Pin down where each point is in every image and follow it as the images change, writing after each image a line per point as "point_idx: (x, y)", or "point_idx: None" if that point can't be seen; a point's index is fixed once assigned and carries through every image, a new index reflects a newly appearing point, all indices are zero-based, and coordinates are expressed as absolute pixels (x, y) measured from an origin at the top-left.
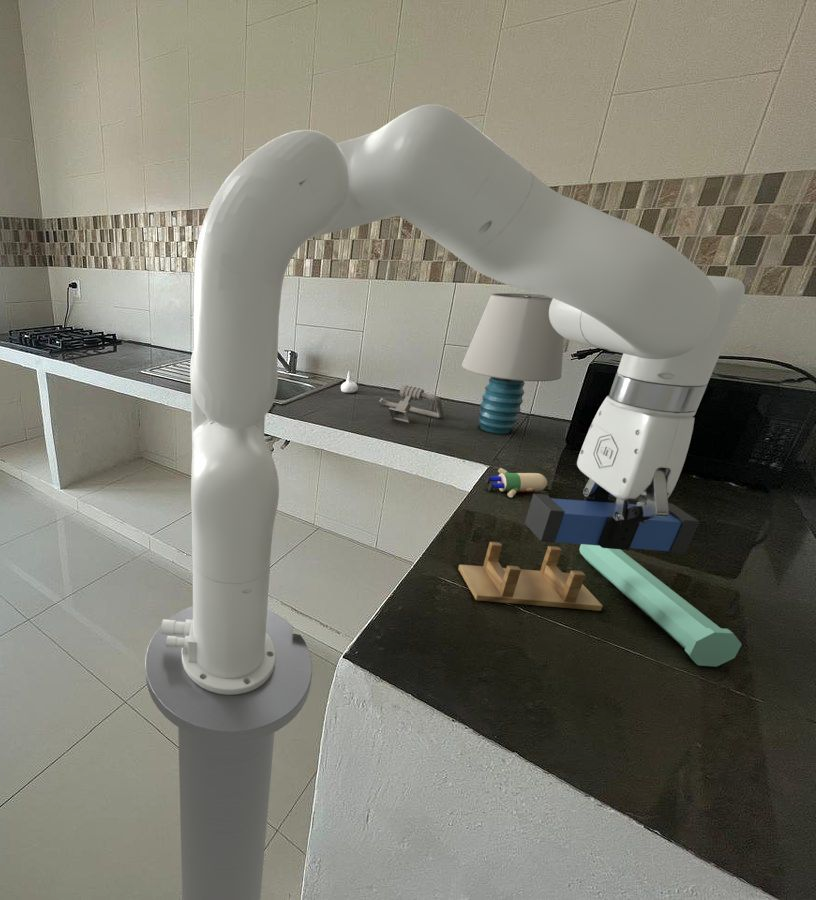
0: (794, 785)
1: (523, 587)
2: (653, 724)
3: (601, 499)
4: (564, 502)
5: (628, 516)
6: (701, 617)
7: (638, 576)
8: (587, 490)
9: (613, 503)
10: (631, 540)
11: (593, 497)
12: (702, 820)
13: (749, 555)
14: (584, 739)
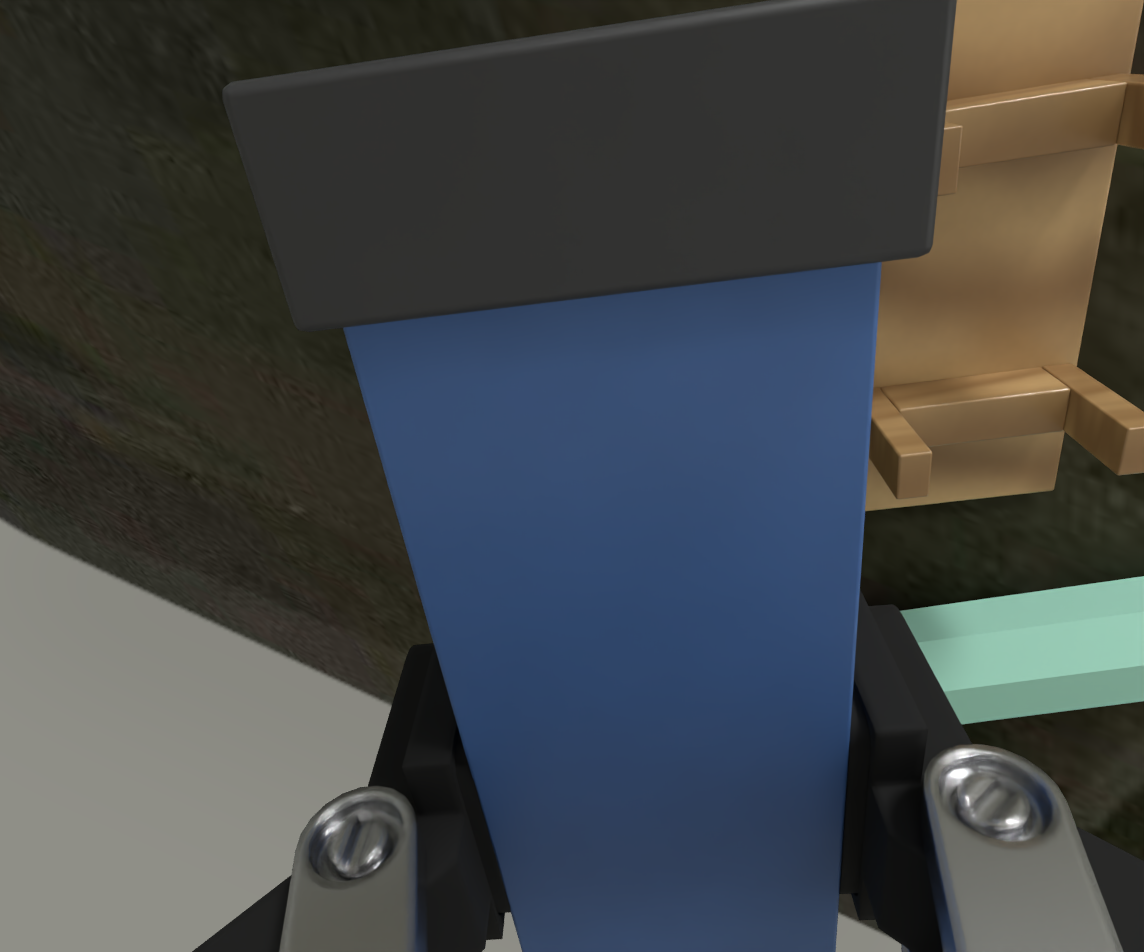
0: (265, 632)
1: (940, 246)
2: (320, 433)
3: (868, 848)
4: (750, 462)
5: (267, 924)
6: None
7: (945, 681)
8: (1001, 820)
9: (816, 897)
10: None
11: (893, 804)
12: (39, 406)
13: None
14: (153, 206)
